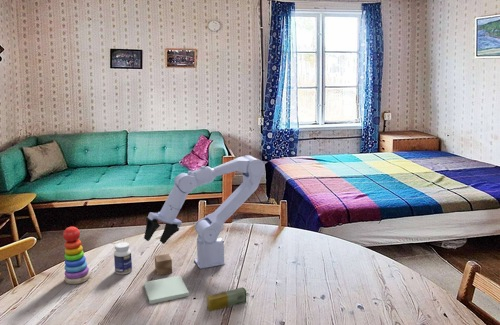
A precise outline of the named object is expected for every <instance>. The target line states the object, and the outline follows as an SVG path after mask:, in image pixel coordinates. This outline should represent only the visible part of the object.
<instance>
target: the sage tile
mask: <svg viewBox="0 0 500 325" xmlns="http://www.w3.org/2000/svg"><path fill="white" fill-rule="evenodd" d="M143 286H144V290H145V293H146V296H147V299H148V302H149V304H150V305H152V304H156V303H162V302H167V301H172V300H177V299H181V298H185V297H190V291H189V290H188V288H187V286H186V284H185V283H184V280H183V279H182V276H181V275H174V276H171V277H170V276H169V277H163V278H159V279H155V280H149V281H144V282H143Z"/></svg>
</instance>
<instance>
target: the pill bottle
mask: <svg viewBox="0 0 500 325" xmlns="http://www.w3.org/2000/svg"><path fill="white" fill-rule="evenodd" d="M114 249H115V251H114V253H113V256H114V257H113V258H114V271H115V274H117V275H127V274H130V273H131V272H132V271H133V264H132V261H133V260H132V251H131V249H130V244H129V242H123V241H122V242H118V243H116V244H115V245H114Z"/></svg>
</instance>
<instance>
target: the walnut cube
mask: <svg viewBox="0 0 500 325" xmlns="http://www.w3.org/2000/svg"><path fill="white" fill-rule="evenodd" d="M154 269H155V271H156V274H157V276H160V275H161V276H162V275H166V274H172V273H173V259H172V257H171V256H170V253H165V254H160V255H159V254H158V255H154Z"/></svg>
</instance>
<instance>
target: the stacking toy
mask: <svg viewBox="0 0 500 325" xmlns="http://www.w3.org/2000/svg"><path fill="white" fill-rule="evenodd" d="M62 236H63V239H64V240H65V243H64V248H65V249H64V253H65V254H64V270H65V271H64V281H65V283H67V284H69V285H78V284H82V283H84V282H86V281H88V280H89V279H90V277H91V273H90V268H89V266H88V263H87V261H86V256H85V252H84V250H83V249H84V248H83V245H82V241H81V240H80V239H79V238H80V236H81V231H80V229H78V227H76V226H69V227H66V228H65V229H64V230H63V234H62Z"/></svg>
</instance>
